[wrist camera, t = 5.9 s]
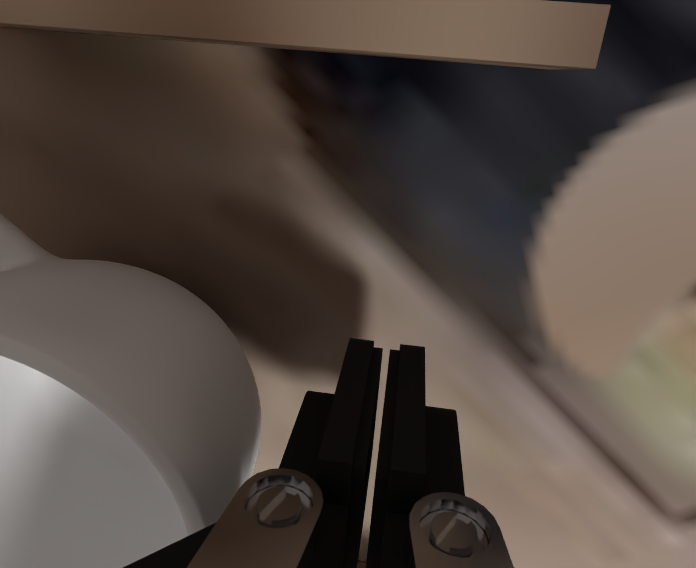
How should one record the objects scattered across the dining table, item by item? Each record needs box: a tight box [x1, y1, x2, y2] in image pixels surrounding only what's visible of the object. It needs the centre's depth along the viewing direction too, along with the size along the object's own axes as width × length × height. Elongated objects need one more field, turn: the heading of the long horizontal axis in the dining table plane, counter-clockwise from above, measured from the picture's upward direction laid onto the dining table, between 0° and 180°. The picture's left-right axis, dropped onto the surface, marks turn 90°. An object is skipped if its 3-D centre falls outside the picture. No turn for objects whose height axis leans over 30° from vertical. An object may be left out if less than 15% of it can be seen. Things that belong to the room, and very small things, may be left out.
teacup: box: [0, 213, 261, 568], centre depth 11 cm, size 10×8×5 cm
